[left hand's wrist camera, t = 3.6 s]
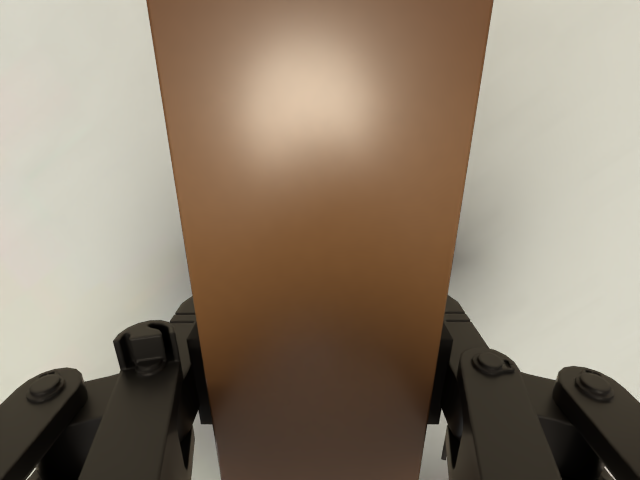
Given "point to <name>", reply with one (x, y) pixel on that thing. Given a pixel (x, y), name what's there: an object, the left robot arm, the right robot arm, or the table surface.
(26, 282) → the table surface
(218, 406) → the bar
